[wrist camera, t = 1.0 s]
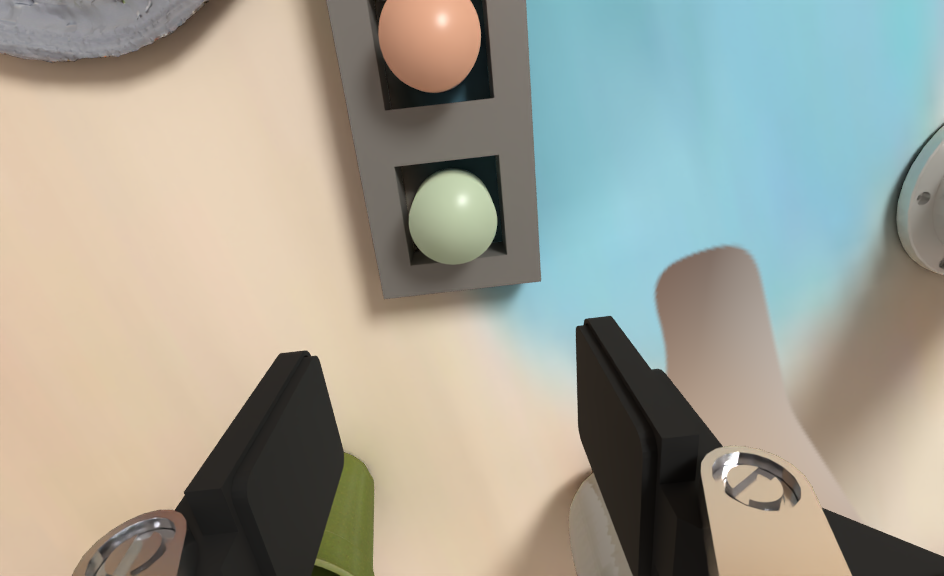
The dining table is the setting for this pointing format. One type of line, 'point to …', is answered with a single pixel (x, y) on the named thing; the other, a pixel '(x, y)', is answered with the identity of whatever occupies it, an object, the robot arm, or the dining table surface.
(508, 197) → the button panel
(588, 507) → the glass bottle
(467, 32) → the peach rounded dome
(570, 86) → the dining table surface
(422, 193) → the sage button
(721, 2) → the dining table surface
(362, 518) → the plant pot
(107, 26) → the food plate
